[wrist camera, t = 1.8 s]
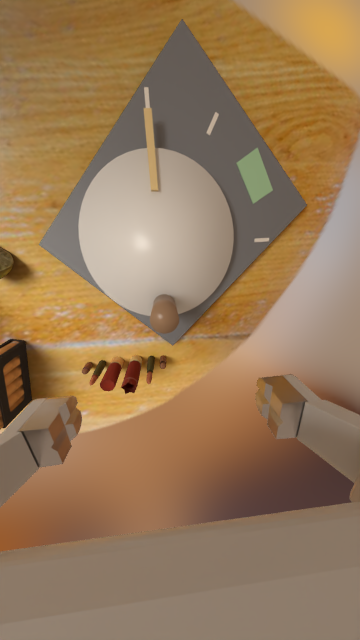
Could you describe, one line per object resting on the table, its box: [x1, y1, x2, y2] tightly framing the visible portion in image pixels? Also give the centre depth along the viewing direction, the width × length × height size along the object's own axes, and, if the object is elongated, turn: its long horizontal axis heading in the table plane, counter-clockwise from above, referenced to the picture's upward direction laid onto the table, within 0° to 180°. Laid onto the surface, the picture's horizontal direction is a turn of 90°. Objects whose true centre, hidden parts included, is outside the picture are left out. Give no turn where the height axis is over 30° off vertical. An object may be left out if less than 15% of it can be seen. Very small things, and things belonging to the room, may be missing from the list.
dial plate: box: [39, 19, 307, 345], centre depth 21 cm, size 20×24×1 cm
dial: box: [78, 108, 234, 334], centre depth 17 cm, size 20×17×6 cm
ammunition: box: [82, 355, 166, 394], centre depth 24 cm, size 12×2×6 cm, turn 93°
